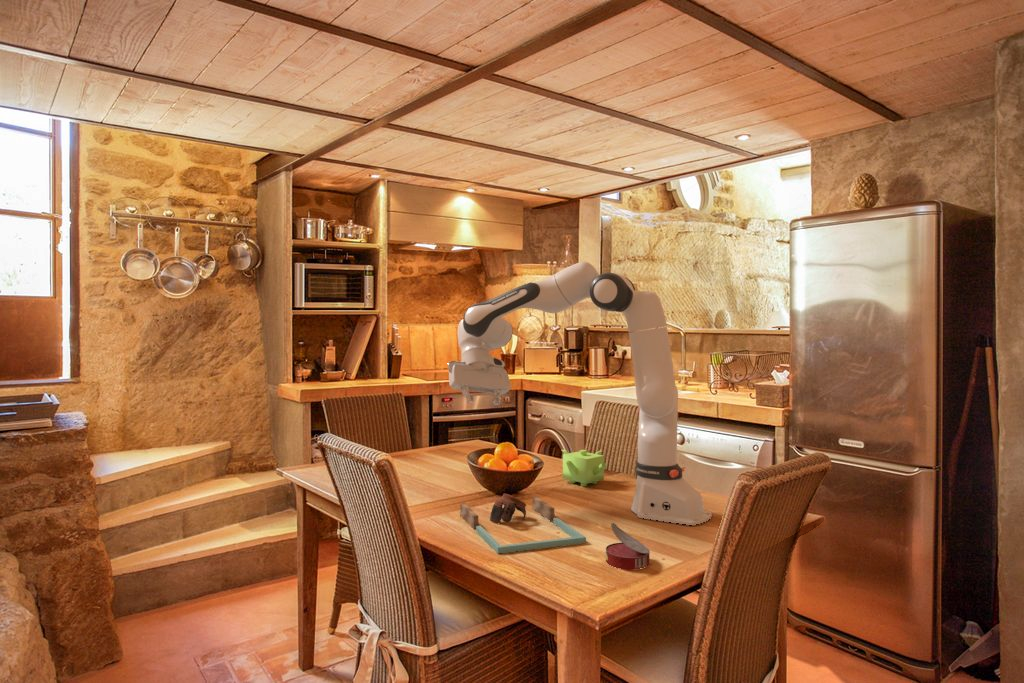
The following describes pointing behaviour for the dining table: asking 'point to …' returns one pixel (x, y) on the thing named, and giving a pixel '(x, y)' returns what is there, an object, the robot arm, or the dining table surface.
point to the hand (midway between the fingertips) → (483, 403)
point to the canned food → (626, 551)
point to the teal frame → (575, 539)
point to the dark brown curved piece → (506, 508)
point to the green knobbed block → (583, 467)
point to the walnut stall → (536, 505)
